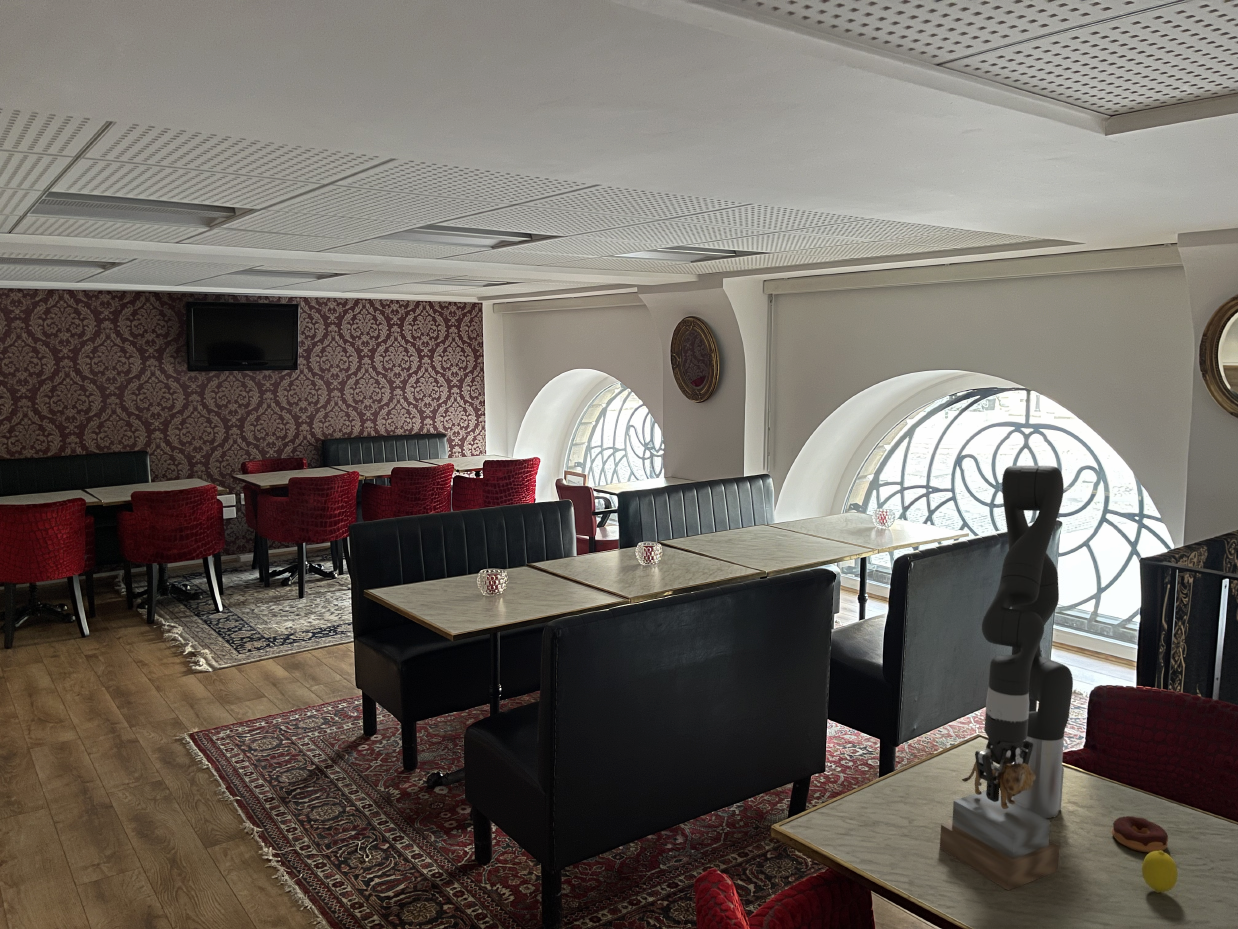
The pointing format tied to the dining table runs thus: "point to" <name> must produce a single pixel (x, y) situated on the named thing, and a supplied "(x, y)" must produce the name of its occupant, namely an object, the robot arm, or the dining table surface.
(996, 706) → the robot arm
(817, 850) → the dining table surface
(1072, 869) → the dining table surface
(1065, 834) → the dining table surface
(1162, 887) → the lemon
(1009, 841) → the two-tone block
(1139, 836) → the donut
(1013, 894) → the dining table surface
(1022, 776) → the lion figurine
